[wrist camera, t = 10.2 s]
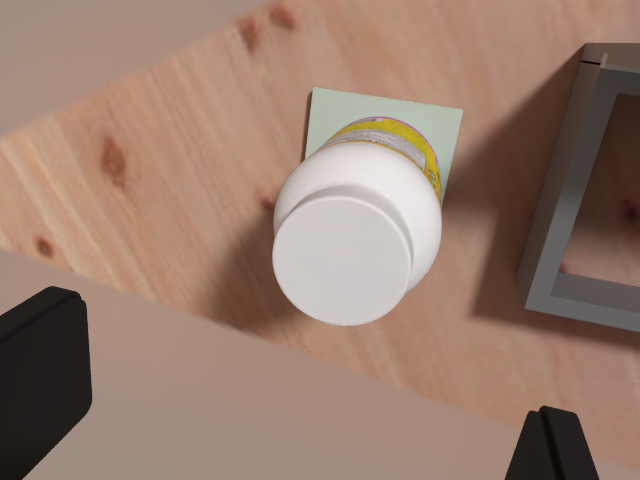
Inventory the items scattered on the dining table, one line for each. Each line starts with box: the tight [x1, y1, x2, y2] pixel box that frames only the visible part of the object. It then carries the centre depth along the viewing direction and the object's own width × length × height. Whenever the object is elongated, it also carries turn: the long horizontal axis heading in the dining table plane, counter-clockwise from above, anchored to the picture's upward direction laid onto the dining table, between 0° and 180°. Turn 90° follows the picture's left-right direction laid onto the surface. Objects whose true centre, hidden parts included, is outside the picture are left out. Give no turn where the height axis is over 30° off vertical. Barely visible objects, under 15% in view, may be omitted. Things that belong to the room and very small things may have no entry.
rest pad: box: [305, 87, 463, 208], centre depth 29 cm, size 8×8×1 cm
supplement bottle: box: [272, 116, 442, 326], centre depth 23 cm, size 7×7×13 cm
